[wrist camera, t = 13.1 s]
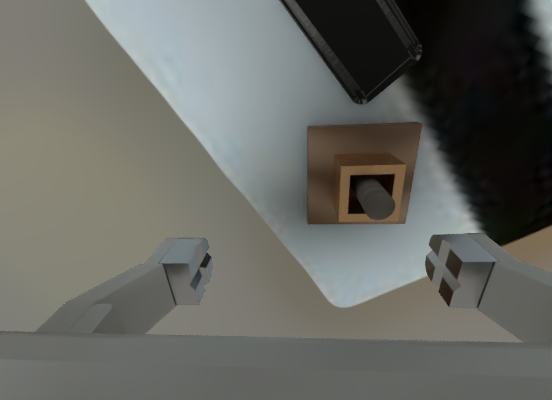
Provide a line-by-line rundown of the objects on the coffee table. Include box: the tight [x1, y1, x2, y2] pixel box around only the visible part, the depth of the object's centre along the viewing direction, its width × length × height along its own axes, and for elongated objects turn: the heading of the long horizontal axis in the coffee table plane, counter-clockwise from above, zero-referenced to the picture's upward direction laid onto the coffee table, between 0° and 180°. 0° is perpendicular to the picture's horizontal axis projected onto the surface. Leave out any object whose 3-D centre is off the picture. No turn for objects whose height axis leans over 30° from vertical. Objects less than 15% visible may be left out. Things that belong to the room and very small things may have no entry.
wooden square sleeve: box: [332, 153, 406, 222], centre depth 27 cm, size 6×6×5 cm
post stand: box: [308, 122, 422, 224], centre depth 27 cm, size 12×12×10 cm
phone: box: [280, 0, 422, 104], centre depth 25 cm, size 8×1×15 cm
